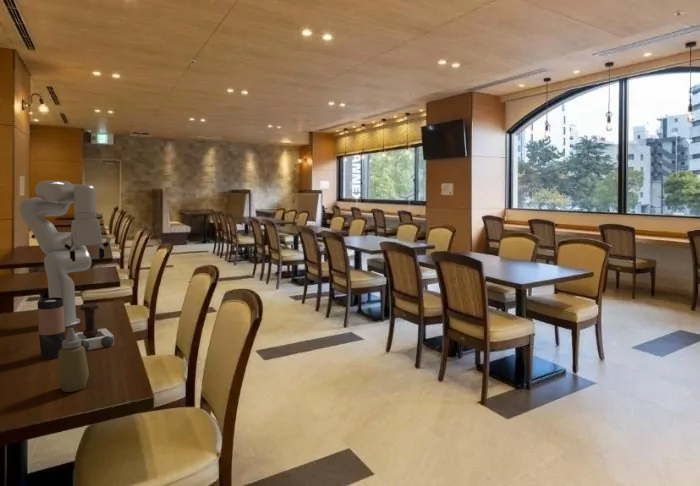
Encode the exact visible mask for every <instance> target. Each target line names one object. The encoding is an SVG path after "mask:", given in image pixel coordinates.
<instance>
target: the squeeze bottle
mask: <svg viewBox="0 0 700 486" xmlns="http://www.w3.org/2000/svg"><path fill="white" fill-rule="evenodd" d="M74 331H75V330H74V328H73V327H69V328H68V330H67V334H66V338H65V340H64V341H63V342H62V347H63V348H62V349H61V350H60V351H59V356H58V358H57V372H56V373H57V374H56V380H57V382H58V384H59V387H60V388H61V391H62V392H66V393H72V392H73V393H74V392H78V391H80V390H83V389H84V388H85V387H86V386H87V381H88V379H89V376H90V372H89V365H88V359H87V354H86V353H87V352H86V351H85V348H84V347H83V346H81V340H80V339H76V336H75V332H74Z"/></svg>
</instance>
